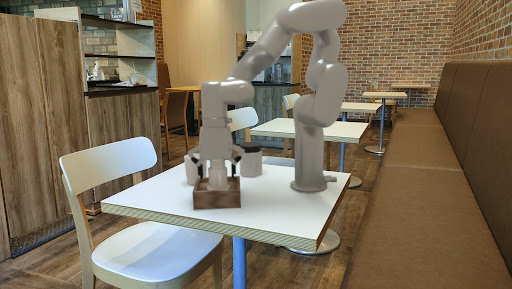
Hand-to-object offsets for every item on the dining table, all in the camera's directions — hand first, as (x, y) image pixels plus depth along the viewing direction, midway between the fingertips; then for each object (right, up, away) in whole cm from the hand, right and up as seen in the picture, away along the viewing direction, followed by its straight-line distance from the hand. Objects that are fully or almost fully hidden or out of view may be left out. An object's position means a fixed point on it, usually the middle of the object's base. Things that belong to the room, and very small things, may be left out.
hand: (217, 177), depth 111 cm
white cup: (-9, -4, +19) cm, 21 cm away
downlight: (0, -4, +1) cm, 4 cm away
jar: (+10, -2, +28) cm, 29 cm away
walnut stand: (0, -7, +2) cm, 8 cm away
